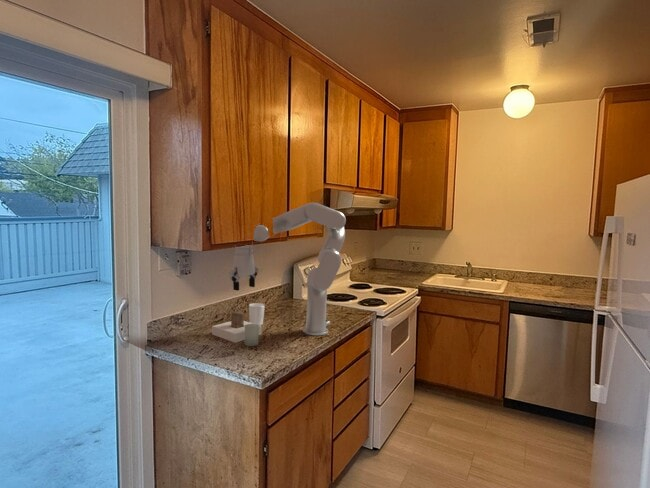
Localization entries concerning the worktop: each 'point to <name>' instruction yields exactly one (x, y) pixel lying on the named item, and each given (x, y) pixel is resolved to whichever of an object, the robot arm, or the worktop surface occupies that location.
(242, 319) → the walnut square peg
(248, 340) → the sage round peg
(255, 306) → the white cup
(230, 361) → the worktop surface
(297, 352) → the worktop surface
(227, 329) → the cream socket block
